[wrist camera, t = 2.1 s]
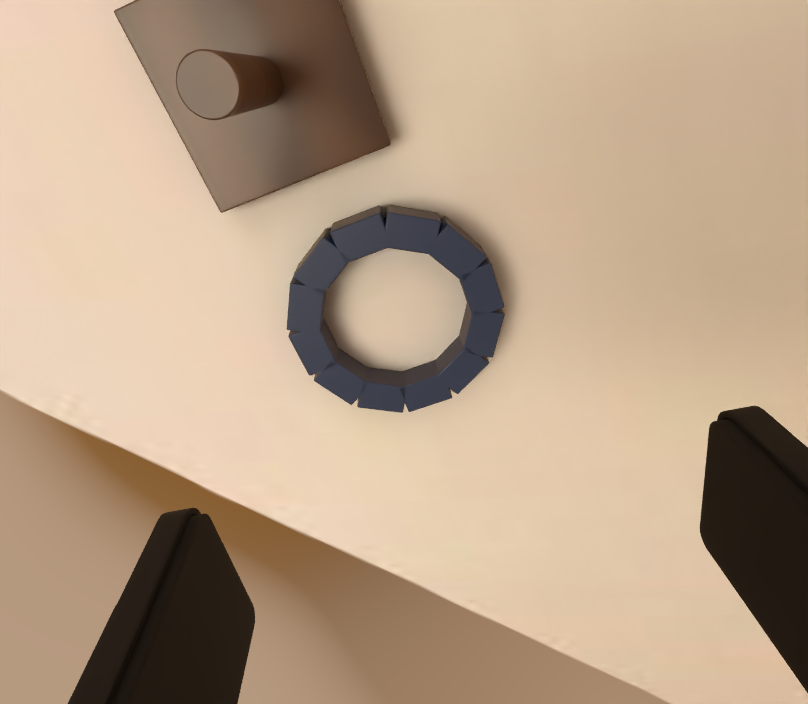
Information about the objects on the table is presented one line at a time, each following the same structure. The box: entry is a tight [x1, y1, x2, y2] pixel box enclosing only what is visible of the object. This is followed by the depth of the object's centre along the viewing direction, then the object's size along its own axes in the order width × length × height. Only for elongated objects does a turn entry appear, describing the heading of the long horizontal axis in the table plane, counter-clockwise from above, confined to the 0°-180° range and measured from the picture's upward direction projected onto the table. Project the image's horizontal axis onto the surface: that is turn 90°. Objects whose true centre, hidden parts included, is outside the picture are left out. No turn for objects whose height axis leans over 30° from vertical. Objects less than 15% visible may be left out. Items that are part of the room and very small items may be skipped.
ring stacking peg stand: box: [114, 0, 391, 213], centre depth 21 cm, size 9×9×10 cm
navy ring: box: [287, 205, 505, 413], centre depth 30 cm, size 12×12×2 cm
